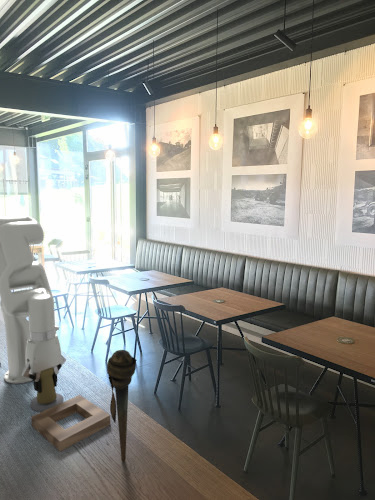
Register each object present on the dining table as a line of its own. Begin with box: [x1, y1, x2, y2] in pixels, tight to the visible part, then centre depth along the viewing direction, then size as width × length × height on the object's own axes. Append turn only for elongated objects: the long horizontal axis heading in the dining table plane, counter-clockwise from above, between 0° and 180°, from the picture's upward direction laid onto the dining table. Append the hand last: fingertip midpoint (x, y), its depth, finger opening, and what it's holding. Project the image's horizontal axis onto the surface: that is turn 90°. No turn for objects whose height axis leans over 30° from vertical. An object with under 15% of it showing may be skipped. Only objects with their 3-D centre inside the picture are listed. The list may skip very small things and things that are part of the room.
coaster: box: [29, 392, 64, 413], centre depth 125 cm, size 10×10×1 cm
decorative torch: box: [106, 349, 137, 463], centre depth 96 cm, size 7×7×30 cm
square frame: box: [30, 394, 111, 452], centre depth 113 cm, size 16×16×3 cm
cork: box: [36, 367, 57, 404], centre depth 124 cm, size 6×6×11 cm
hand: (45, 387), depth 124 cm, fingers open, 4 cm apart
